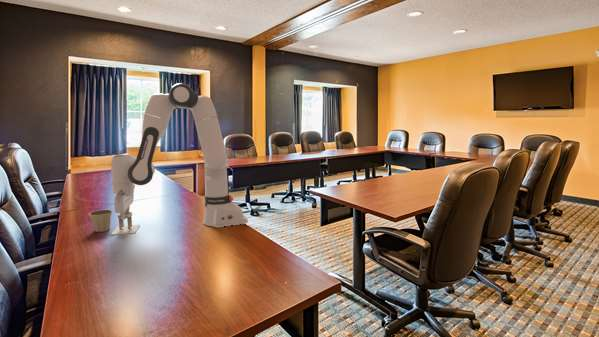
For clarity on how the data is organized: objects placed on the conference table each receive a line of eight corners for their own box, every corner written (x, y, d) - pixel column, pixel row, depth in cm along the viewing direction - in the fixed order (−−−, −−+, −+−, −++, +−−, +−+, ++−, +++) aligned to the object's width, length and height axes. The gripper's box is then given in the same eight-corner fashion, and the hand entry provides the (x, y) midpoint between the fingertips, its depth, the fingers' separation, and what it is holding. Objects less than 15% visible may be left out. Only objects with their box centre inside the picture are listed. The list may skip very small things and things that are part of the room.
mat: (140, 225, 162) (140, 224, 162) (135, 233, 151) (135, 232, 151) (117, 227, 159) (117, 226, 159) (110, 235, 148) (110, 234, 148)
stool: (132, 226, 158) (131, 212, 157) (130, 229, 153) (129, 214, 152) (121, 226, 157) (120, 212, 156) (118, 230, 152) (117, 215, 151)
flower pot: (103, 234, 150) (101, 215, 148) (85, 232, 151) (83, 214, 150) (118, 227, 159) (116, 210, 157) (101, 226, 160) (100, 209, 159)
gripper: (125, 192, 143) (127, 223, 145) (135, 184, 163) (137, 211, 165) (109, 193, 142) (111, 224, 143) (121, 184, 161) (123, 212, 163)
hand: (125, 217), depth 154 cm, fingers closed on stool, 5 cm apart
